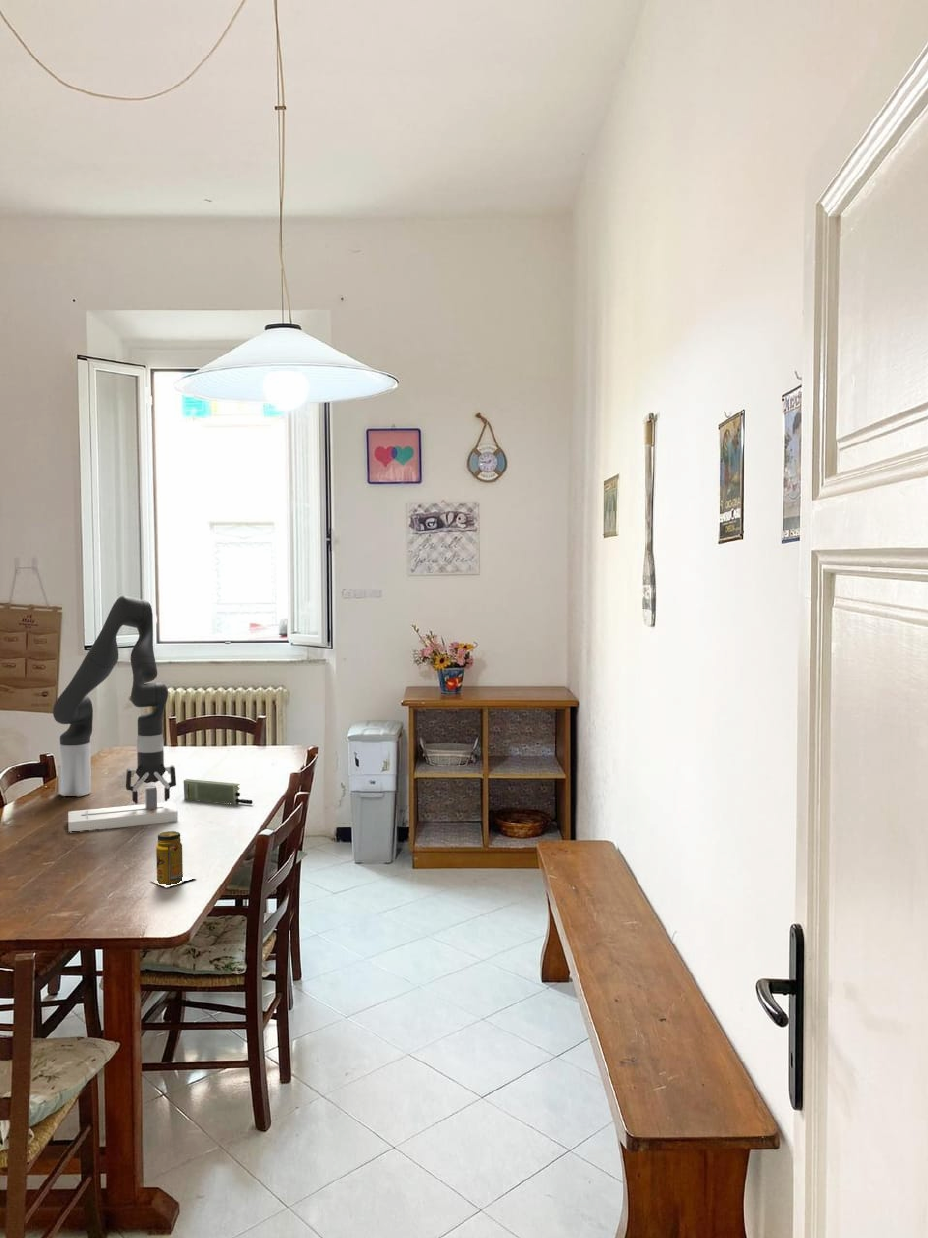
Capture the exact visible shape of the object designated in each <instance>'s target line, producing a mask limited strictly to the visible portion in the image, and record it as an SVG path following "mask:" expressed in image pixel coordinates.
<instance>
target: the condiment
mask: <svg viewBox="0 0 928 1238" xmlns="http://www.w3.org/2000/svg"><path fill="white" fill-rule="evenodd" d="M181 840H182V839H181V833H180V832H178V831H176V830H169V831H168V830H167V831H164V832H160V833H159V834H158V835H157V845H156V850H155V852H156V853H155V854H156V858H155V859H156V880H157V881H158V883H159V884H166V885H171V884H177V883H179V882H180V881H182V877H183V874H184V873H183V872H184V871H183V869H184V867H183V844H182V841H181Z"/></svg>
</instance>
